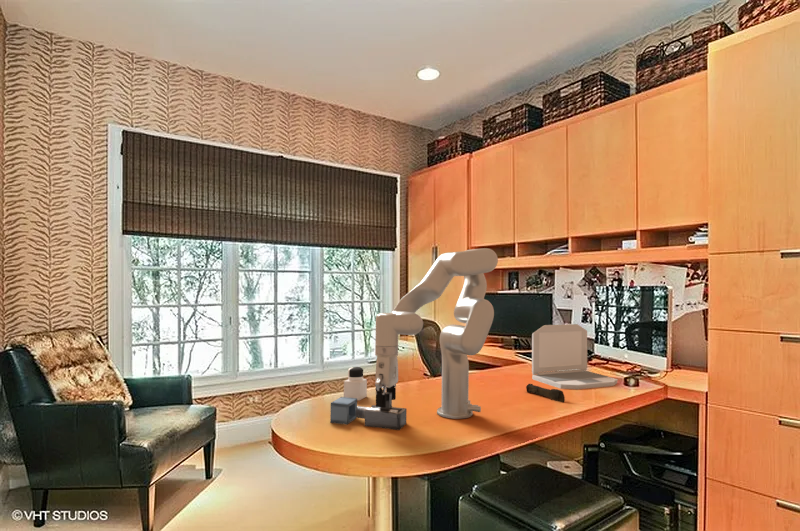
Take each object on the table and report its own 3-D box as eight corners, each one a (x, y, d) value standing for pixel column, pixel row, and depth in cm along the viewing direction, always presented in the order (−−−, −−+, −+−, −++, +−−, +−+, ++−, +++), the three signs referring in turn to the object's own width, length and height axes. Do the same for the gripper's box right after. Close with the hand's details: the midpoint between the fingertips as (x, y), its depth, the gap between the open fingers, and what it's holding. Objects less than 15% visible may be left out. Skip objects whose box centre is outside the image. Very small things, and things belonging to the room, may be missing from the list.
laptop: (566, 391, 201) (566, 330, 202) (531, 379, 223) (531, 325, 224) (624, 385, 213) (623, 328, 214) (585, 375, 236) (585, 323, 236)
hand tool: (525, 393, 196) (525, 382, 197) (532, 392, 198) (532, 381, 198) (559, 404, 180) (559, 392, 180) (566, 403, 181) (566, 391, 182)
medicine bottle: (366, 396, 186) (367, 366, 187) (359, 400, 180) (360, 370, 180) (350, 394, 189) (351, 365, 189) (343, 399, 182) (343, 368, 182)
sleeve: (406, 423, 152) (406, 408, 152) (399, 430, 145) (400, 414, 145) (372, 419, 156) (372, 405, 156) (364, 426, 149) (364, 410, 149)
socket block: (356, 417, 158) (357, 398, 158) (346, 424, 150) (347, 404, 151) (341, 415, 160) (341, 396, 160) (330, 422, 152) (330, 402, 152)
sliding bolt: (399, 420, 151) (399, 392, 151) (395, 423, 148) (395, 395, 148) (359, 416, 155) (360, 389, 156) (355, 419, 152) (355, 391, 152)
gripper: (388, 355, 142) (388, 411, 141) (405, 347, 158) (404, 397, 158) (366, 353, 144) (365, 409, 144) (384, 346, 161) (384, 395, 160)
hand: (385, 403), depth 151 cm, fingers open, 9 cm apart
